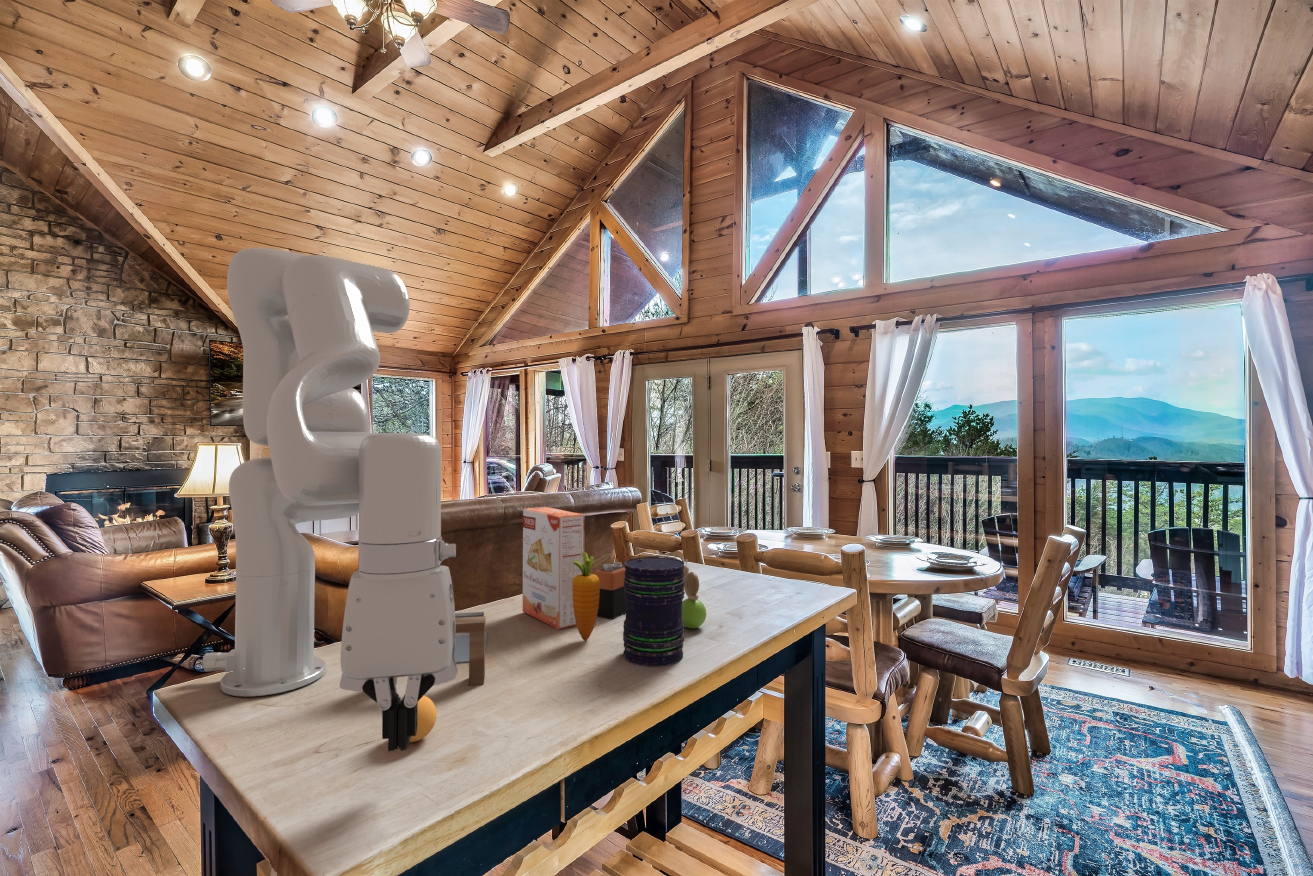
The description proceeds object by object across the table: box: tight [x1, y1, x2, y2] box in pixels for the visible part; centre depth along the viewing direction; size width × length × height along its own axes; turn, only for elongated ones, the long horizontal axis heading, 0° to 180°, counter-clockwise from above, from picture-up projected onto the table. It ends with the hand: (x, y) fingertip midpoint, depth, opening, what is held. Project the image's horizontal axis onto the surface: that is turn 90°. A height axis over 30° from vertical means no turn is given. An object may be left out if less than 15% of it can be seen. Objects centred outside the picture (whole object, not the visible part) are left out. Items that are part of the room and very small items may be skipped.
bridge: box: [394, 615, 487, 686], centre depth 84 cm, size 3×14×9 cm, turn 103°
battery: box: [594, 561, 626, 620], centre depth 119 cm, size 4×7×10 cm, turn 151°
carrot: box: [572, 551, 600, 642], centre depth 103 cm, size 5×5×15 cm
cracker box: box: [522, 506, 585, 630], centre depth 116 cm, size 14×6×21 cm, turn 40°
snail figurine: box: [681, 559, 707, 629], centre depth 112 cm, size 5×6×12 cm
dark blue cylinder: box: [622, 556, 686, 668], centre depth 97 cm, size 10×10×15 cm
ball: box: [409, 695, 438, 743], centre depth 69 cm, size 5×5×5 cm
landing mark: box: [454, 632, 489, 664], centre depth 98 cm, size 13×13×1 cm
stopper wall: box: [455, 611, 485, 618], centre depth 109 cm, size 11×2×2 cm, turn 103°
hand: (400, 743), depth 59 cm, fingers closed
